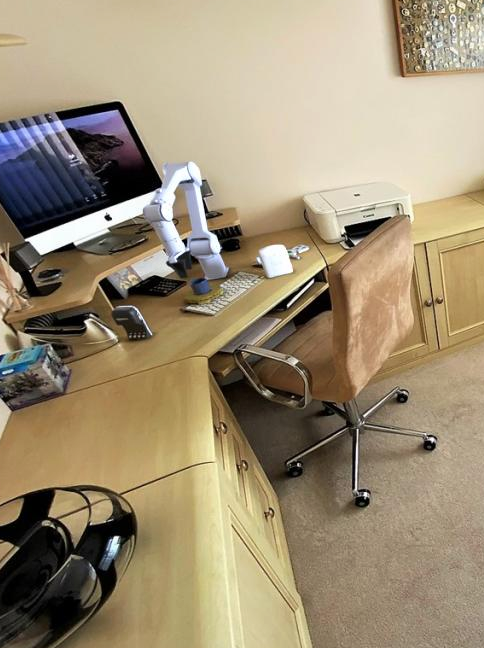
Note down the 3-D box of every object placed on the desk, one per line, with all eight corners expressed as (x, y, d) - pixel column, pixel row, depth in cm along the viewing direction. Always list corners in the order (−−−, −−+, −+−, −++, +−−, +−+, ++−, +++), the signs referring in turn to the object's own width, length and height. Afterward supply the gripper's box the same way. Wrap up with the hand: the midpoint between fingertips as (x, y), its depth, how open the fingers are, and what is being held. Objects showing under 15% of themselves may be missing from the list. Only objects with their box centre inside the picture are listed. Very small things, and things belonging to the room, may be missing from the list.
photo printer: (292, 269, 178) (283, 241, 171) (294, 272, 175) (285, 244, 168) (265, 275, 174) (255, 247, 167) (267, 279, 171) (257, 251, 164)
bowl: (195, 289, 160) (190, 279, 158) (212, 286, 162) (207, 276, 159) (192, 296, 156) (187, 285, 154) (209, 293, 158) (204, 282, 155)
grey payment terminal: (125, 342, 136) (105, 311, 130) (133, 335, 139) (114, 305, 133) (147, 341, 136) (128, 310, 130) (154, 334, 140) (137, 304, 133)
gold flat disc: (204, 306, 154) (201, 301, 153) (179, 302, 157) (176, 297, 156) (230, 291, 163) (228, 286, 162) (206, 287, 166) (203, 282, 165)
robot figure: (272, 269, 178) (317, 251, 193) (270, 262, 176) (315, 244, 191) (251, 261, 186) (295, 244, 201) (248, 254, 184) (293, 237, 199)
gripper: (178, 243, 144) (195, 279, 152) (187, 229, 155) (202, 263, 163) (154, 247, 142) (172, 283, 150) (165, 232, 153) (181, 266, 161)
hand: (186, 273), depth 156 cm, fingers open, 7 cm apart
